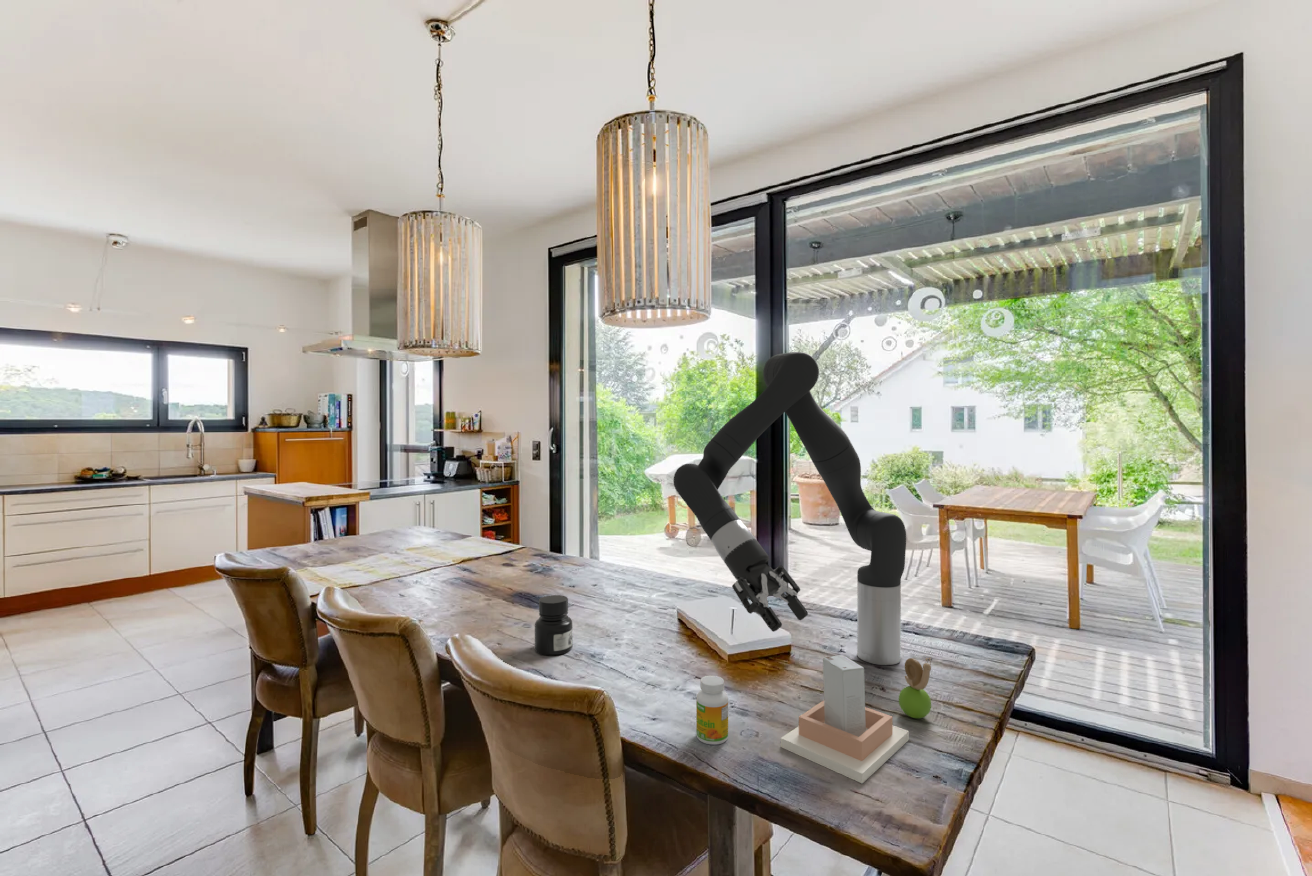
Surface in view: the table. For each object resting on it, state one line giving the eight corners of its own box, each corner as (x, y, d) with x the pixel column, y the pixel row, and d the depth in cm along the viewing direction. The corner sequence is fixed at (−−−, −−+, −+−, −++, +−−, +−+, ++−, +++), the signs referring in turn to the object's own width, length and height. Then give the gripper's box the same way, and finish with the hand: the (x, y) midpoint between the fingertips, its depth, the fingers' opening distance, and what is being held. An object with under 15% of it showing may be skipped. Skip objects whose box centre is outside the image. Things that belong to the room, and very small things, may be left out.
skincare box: (867, 741, 95) (867, 667, 95) (843, 746, 93) (843, 671, 93) (844, 723, 101) (844, 653, 100) (821, 727, 99) (821, 656, 99)
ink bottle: (564, 658, 133) (563, 606, 133) (527, 655, 135) (527, 604, 135) (578, 643, 143) (578, 594, 143) (544, 640, 145) (543, 592, 144)
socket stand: (832, 711, 108) (832, 687, 108) (908, 740, 98) (908, 713, 98) (780, 747, 96) (780, 720, 96) (862, 783, 86) (862, 753, 86)
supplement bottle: (690, 739, 98) (690, 682, 98) (705, 726, 103) (705, 671, 103) (719, 749, 95) (718, 690, 95) (733, 734, 100) (733, 678, 100)
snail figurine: (916, 729, 102) (916, 660, 101) (892, 712, 108) (892, 647, 108) (942, 724, 103) (942, 656, 103) (916, 707, 109) (916, 644, 109)
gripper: (727, 543, 105) (782, 621, 97) (772, 532, 115) (825, 602, 107) (704, 567, 109) (755, 644, 101) (750, 555, 119) (799, 624, 111)
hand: (791, 623), depth 104 cm, fingers open, 8 cm apart
